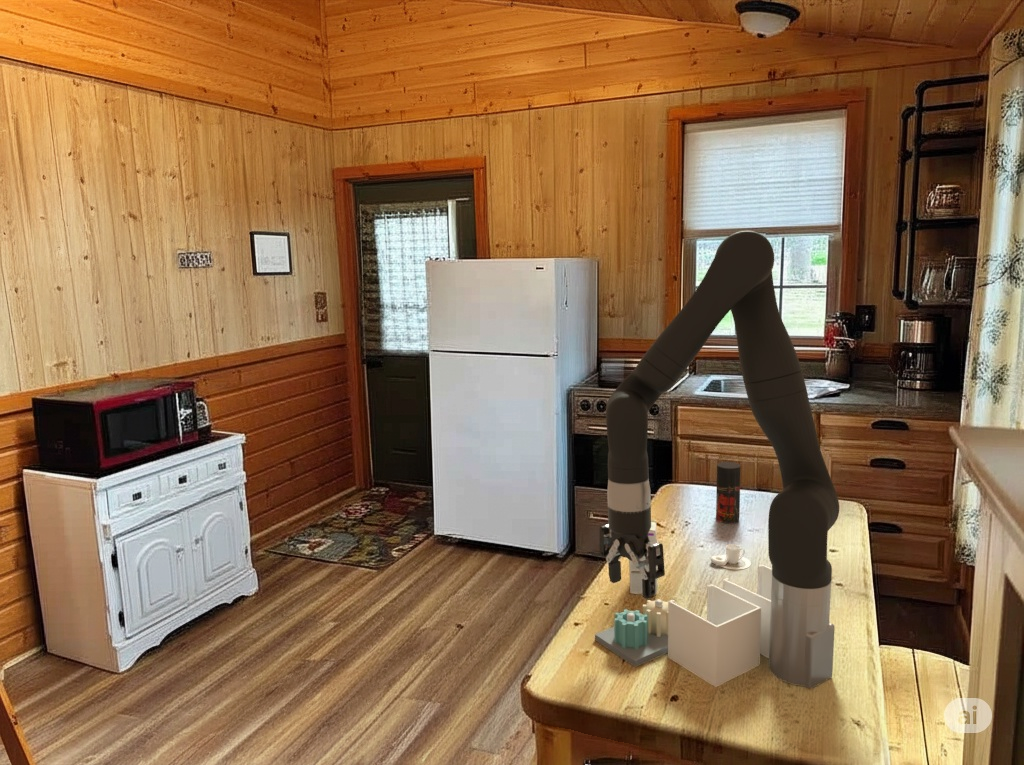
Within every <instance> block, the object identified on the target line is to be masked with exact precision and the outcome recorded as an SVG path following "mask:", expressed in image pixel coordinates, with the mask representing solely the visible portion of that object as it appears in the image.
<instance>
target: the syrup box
mask: <svg viewBox="0 0 1024 765" xmlns="http://www.w3.org/2000/svg"><path fill="white" fill-rule="evenodd" d="M657 533H658V532H657V521H655V520H651V528H650V530H649V532H648V538H649V541H650V542H651V543H654V544H656V543H658V539H657V535H658V534H657ZM628 560H629V559H628ZM639 560H640V561H644V560H645V556H643V557H642V558H641V559H639ZM628 563H629V564H628V565H629V566H628V567H629V568H628V569H629V570H628V571H629V593H630V594H633V595H642V596H643V593H642V579H643V577H642V575H641V573H640V570H639V569H638V568H636V567H635V565H634V563H633V561H631V560H629V561H628ZM645 568H646V570H647V572H648V571H649V569H648V567H647V566H646V565H645ZM656 570H658V567H657V566H656ZM655 586H656V589H655V590H656V593H655V595H654V596H657V594H658V578H657V579H655Z"/></svg>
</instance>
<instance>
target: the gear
mask: <svg viewBox="0 0 1024 765" xmlns="http://www.w3.org/2000/svg"><path fill="white" fill-rule="evenodd" d="M640 612H641V610H637V609H636V610H628V609H627V608H626V609H623V611H622V612H615V614H614V618H613V619H614V621H613V623H614V624H613V627H614V641H615V643H620V644H621V645H622V647H623V648H626V647H634V649H639V646H641V645H645V646H646V645H647V615H643V613H640ZM628 613H633V614H634V615H635V622H630V621H627V614H628Z"/></svg>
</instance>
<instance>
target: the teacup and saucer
mask: <svg viewBox="0 0 1024 765" xmlns="http://www.w3.org/2000/svg"><path fill="white" fill-rule="evenodd" d="M742 550H743V552H742V554H741V555H740V552H741V551H742ZM745 554H746V552H745V549H744V548H742V547H740V546H739V545H737V544H733V543H731V544H727V545H725V554H722V555H712V556H711V557H710V562H711V564H712V563H713V564H714V565H715V566H716V565H717V566H718V567H721V568H723V569H727V570H735V571H736V570H737V571H738V570H739V571H740V570H745V569H748V568H750V567H751V565H752V564H751V563H752V562H751V561H750V559H748V558H746V557H744V556H745ZM740 560H741V561H743V562H744V563H745V564H744V565H743V566H740V567H730V566H727V564H731V565H736V564H738V562H739V561H740Z"/></svg>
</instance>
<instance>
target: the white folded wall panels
mask: <svg viewBox="0 0 1024 765" xmlns="http://www.w3.org/2000/svg"><path fill="white" fill-rule="evenodd" d="M771 588H772V567H769V566H766V565H764V564H760V565H758V566H757V593H756V592H753V591H752V590H749V589H748V588H747V589H746V588H745V587H742V586H741V585H739V584H736V583H734V582H732V581H730V578H728V577H726V578H724V579H723V580H722V588H721V587H718V586H716V585H715V584H712V583H711V584H708V585H707V588H706V589H707V591H706V592H707V596H706V597H707V600H706V606H707V607H706V608H707V609H706V618H703V617H701V616H699V615H698V614H696V613H694V612H692V611H690V610H688V609H686V608H685V607H683V606H681V605H679V604H677V603H675V602H676V601H675V600H674V599H671V600H668V601H667V602H668V653H667V657H668V659H670V660H671V661H673V662H675V663H676V664H678V665H680V666H681V667H683V668H684V669H686V670H687V671H689V672H690V673H693V674H694V675H696V676H697V677H699V678H700V679H702V680H703V681H705V682H707V683H708V684H710V685H712V686H713V687H715V688H717V687H719V686H721V685H723V684H725V683H727V682H730V681H731V680H733V679H734V678H736V677H739V676H741V675H742V674H744V673H747V672H750V671H751V670H753V669H754V668H757V667H759V666H760V662H761V661H760V658H761V655H762V656H764V657H766V658H768V659H769V646H770V645H769V644H770V615H771Z"/></svg>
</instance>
